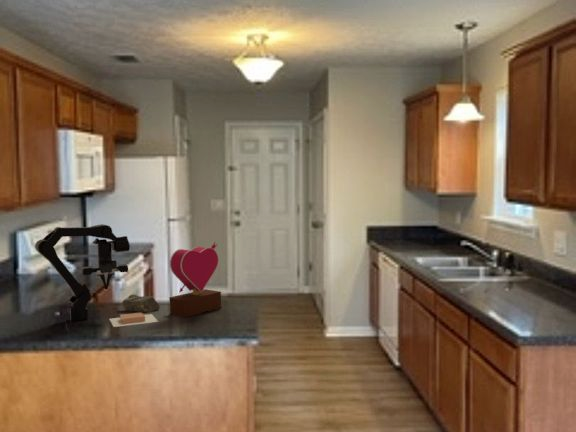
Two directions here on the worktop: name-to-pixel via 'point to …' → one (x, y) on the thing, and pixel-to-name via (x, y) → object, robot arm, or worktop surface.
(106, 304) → the worktop surface
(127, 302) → the rock
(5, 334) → the worktop surface
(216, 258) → the heart arrow ornament
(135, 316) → the terracotta tile
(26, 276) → the worktop surface
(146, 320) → the beige mat
